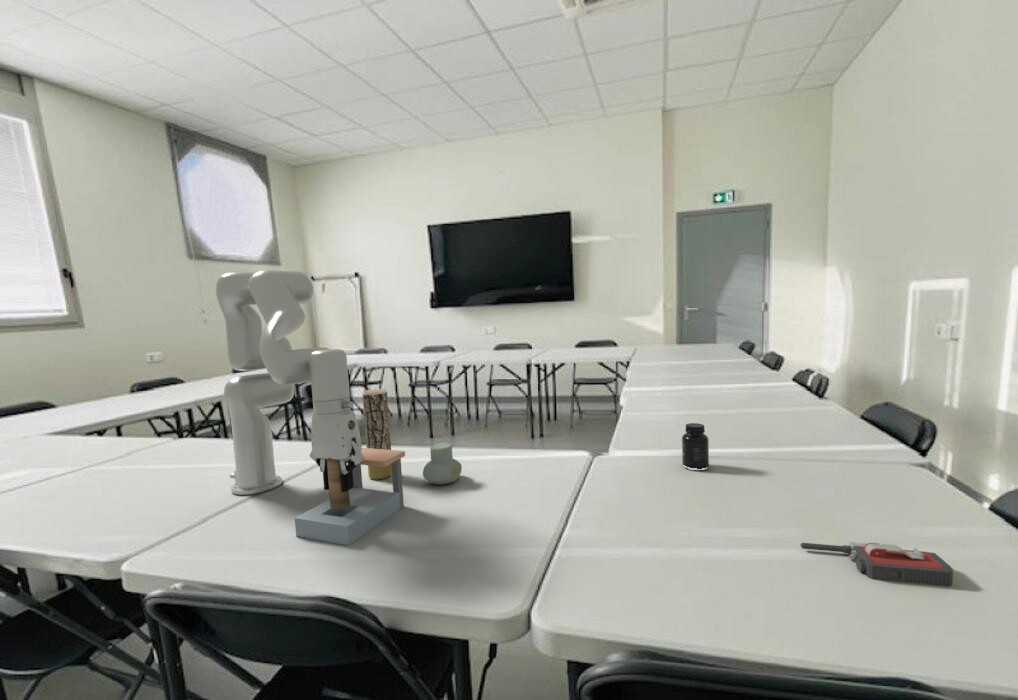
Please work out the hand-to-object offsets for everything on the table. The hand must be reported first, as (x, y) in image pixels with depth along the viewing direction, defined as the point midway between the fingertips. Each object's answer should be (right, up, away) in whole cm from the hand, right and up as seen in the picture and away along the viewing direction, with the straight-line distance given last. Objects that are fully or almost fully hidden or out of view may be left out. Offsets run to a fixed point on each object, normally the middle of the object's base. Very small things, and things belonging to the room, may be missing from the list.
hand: (339, 488), depth 101 cm
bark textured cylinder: (0, -7, +33) cm, 34 cm away
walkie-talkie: (+99, -7, -23) cm, 102 cm away
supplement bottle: (+89, -3, +28) cm, 94 cm away
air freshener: (+19, -6, +27) cm, 33 cm away
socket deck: (+1, -9, +4) cm, 10 cm away
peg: (0, -4, 0) cm, 4 cm away
